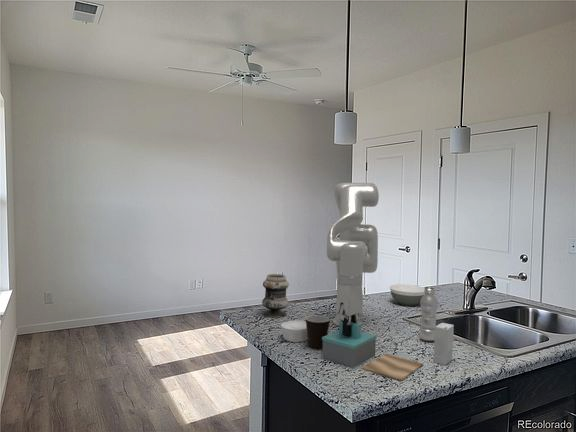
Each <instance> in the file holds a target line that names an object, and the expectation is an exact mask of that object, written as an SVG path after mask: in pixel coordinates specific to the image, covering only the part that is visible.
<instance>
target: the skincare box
mask: <svg viewBox="0 0 576 432" xmlns="http://www.w3.org/2000/svg"><path fill="white" fill-rule="evenodd" d="M454 326H455V325H454V324H450V323H446V322H441V323H439V324H436V327H435V340H434V341H433V343H434V345H433V347H434V349H433V363H436V364H439V365H443V366H446V365H447V364H449V363H450V362H451V361H452V360H453V352H454V351H453V348H454Z"/></svg>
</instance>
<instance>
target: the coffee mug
mask: <svg viewBox="0 0 576 432" xmlns="http://www.w3.org/2000/svg"><path fill="white" fill-rule="evenodd" d="M330 319H331V318H329V316H324V315H310V316H309V315H308V316H307V317H305V322H306V327H307V338H308V339H307V346H308V348H309V349H312V350H319V351H320V350H323V340H322V337H324V336H326V335H328V334H329V328H330V322H331V320H330Z"/></svg>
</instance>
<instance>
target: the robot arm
mask: <svg viewBox="0 0 576 432" xmlns="http://www.w3.org/2000/svg"><path fill="white" fill-rule="evenodd" d="M378 189H379V188H378V187H377V185H376V184H375V183H374V182H340V183H337V184H336V185H335V187H334V190H333V193H334V198H335V202H336V205H337V207H338V211H339V217H338V218H337V219H336V220H335V221H334V222H333V223H332V225H331V226H330V228H329V229H328V232H327V236H326V256H327V258H328V260H330V261H331V262H335V265H336V277H337V278H336V282H337V283H336V287H337V288H336V305H335V313H336V317H334V318H332V323H333V324H334V325H336V326H338V327H339V321H342V324H343V328H342V335H344V336H348V337H351V330H352V325H350V323H351V322H353V323H357V324H361V326H362V325H363V320H362V319H360V317H361V316H363V315H364V312H363V307H364V306H363V305H364V302H363V301H364V297H363V296H364V293H363V275H364V274H366V273H367V274H370V273H371V274H372V273H375V272H376V271H377V269H378V262H379V261H378V260H379V259H378V255H379V250H378V247H379V241H378V240H379V235H378V230H377V227H376V226H375V225H373V224H365V223H364V224H363V221H364V214H363V213H364V212H363V211H364V210H363V209H364V208H365V207H366V208H367V207H369V208H372V207H376V206H378V203H379V197H380V195H379V190H378ZM363 207H364V208H363ZM338 235H339V239H336V237H337V236H338Z"/></svg>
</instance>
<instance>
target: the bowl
mask: <svg viewBox="0 0 576 432" xmlns="http://www.w3.org/2000/svg"><path fill="white" fill-rule="evenodd" d="M389 290H390V294H391V297H392V298H393V300H394V301H396V302H397V303H398V304H399V303H400V305H401V304H402V305H401V306H406V305H407V306H408V307H414V305H415V306H417V305H418V304H421V303H420V301H421V298H422V297H423V296H424V295H425V293H424V291H425V286H421V285H420V286H419V285H415V284H405V283H402V284H391V285H390V286H389ZM407 306H406V307H407Z"/></svg>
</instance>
